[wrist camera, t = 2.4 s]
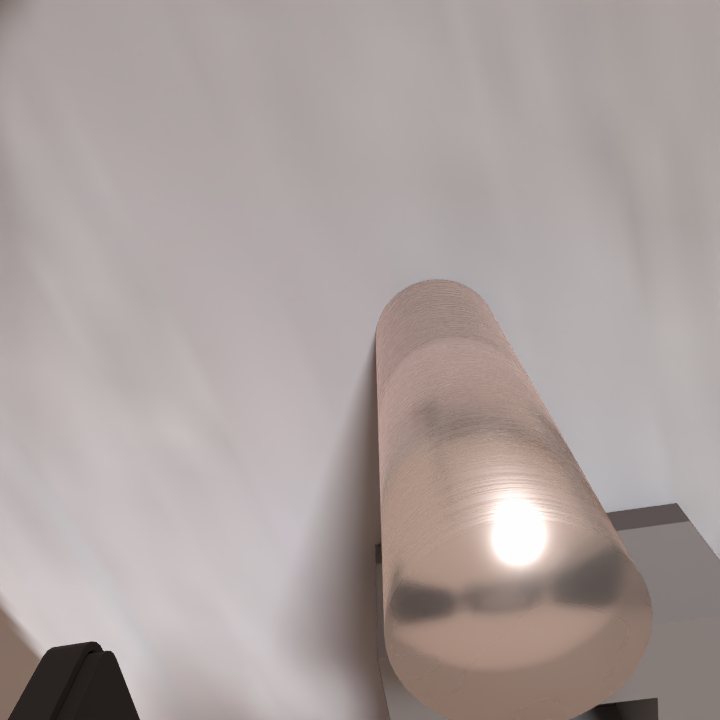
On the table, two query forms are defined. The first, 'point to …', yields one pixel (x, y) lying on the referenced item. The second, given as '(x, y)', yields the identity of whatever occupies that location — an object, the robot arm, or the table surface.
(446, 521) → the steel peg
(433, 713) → the hole block
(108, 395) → the table surface
